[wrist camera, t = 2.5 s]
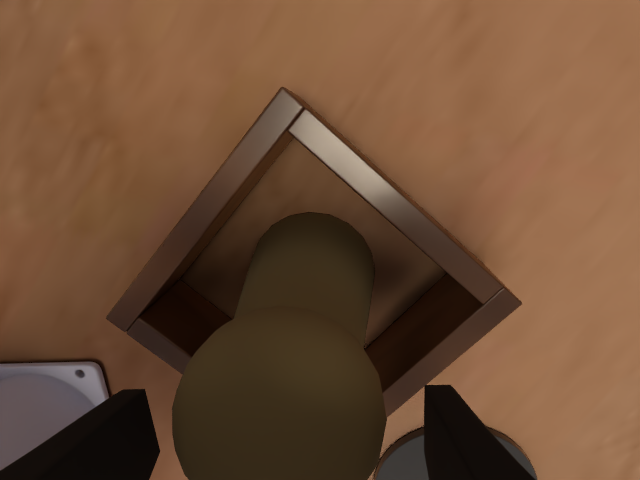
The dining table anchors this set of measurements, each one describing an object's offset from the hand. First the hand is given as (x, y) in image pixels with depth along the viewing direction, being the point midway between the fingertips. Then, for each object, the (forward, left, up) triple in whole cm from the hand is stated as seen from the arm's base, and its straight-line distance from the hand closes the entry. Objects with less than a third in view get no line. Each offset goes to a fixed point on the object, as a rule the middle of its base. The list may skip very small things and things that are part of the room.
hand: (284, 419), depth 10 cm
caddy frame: (0, 0, -9) cm, 9 cm away
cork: (0, 0, -9) cm, 9 cm away
